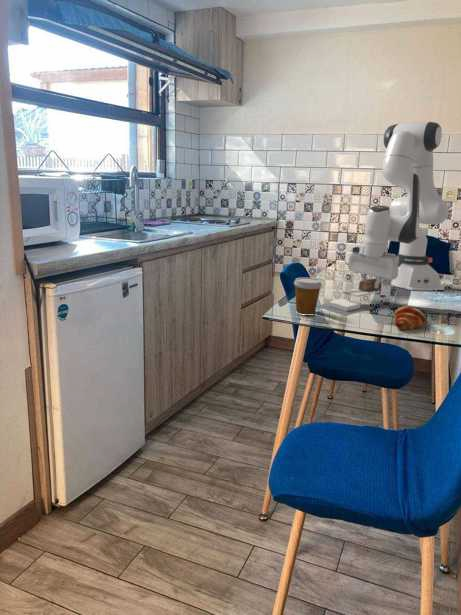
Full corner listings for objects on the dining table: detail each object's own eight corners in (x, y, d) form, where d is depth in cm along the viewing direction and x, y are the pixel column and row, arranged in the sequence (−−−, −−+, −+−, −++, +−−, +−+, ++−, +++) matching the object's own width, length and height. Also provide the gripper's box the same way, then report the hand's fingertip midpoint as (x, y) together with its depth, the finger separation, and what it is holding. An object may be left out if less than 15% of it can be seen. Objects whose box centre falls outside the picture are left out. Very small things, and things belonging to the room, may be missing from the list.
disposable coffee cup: (322, 317, 174) (326, 283, 171) (296, 317, 173) (298, 283, 169) (313, 309, 183) (316, 277, 180) (288, 309, 182) (290, 277, 178)
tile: (342, 298, 190) (329, 301, 185) (360, 303, 184) (346, 306, 179) (342, 303, 190) (328, 306, 185) (360, 308, 185) (346, 311, 180)
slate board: (344, 301, 196) (345, 299, 196) (375, 310, 186) (376, 308, 186) (314, 308, 185) (314, 306, 185) (345, 317, 175) (345, 315, 175)
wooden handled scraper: (385, 291, 194) (386, 281, 193) (357, 296, 183) (358, 286, 182) (369, 287, 199) (370, 277, 198) (341, 292, 188) (342, 282, 187)
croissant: (407, 325, 181) (399, 304, 182) (435, 317, 176) (427, 296, 176) (389, 339, 164) (381, 316, 164) (420, 331, 158) (411, 307, 159)
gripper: (404, 254, 183) (399, 291, 187) (357, 246, 198) (353, 280, 202) (394, 255, 180) (389, 293, 183) (347, 247, 194) (343, 282, 198)
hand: (370, 286), depth 193 cm, fingers closed on wooden handled scraper, 3 cm apart
